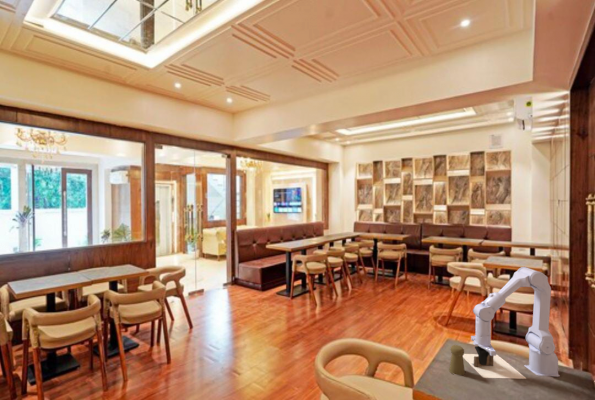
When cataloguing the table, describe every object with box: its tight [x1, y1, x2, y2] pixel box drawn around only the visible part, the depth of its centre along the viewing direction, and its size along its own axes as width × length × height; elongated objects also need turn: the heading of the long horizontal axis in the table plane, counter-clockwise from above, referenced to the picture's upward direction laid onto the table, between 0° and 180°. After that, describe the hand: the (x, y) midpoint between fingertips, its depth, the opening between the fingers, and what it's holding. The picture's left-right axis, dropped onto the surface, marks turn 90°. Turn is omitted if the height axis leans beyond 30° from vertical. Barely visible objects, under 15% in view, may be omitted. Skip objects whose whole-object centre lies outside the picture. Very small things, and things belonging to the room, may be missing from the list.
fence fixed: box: [488, 354, 493, 366], centre depth 141 cm, size 2×9×4 cm, turn 179°
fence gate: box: [474, 356, 489, 367], centre depth 136 cm, size 1×7×4 cm, turn 100°
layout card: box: [463, 353, 527, 380], centre depth 137 cm, size 18×20×1 cm
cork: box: [448, 344, 466, 376], centre depth 132 cm, size 6×6×11 cm
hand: (482, 364), depth 135 cm, fingers closed, pressing on fence gate
